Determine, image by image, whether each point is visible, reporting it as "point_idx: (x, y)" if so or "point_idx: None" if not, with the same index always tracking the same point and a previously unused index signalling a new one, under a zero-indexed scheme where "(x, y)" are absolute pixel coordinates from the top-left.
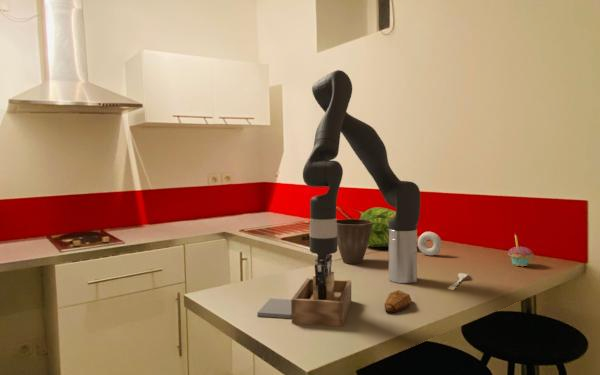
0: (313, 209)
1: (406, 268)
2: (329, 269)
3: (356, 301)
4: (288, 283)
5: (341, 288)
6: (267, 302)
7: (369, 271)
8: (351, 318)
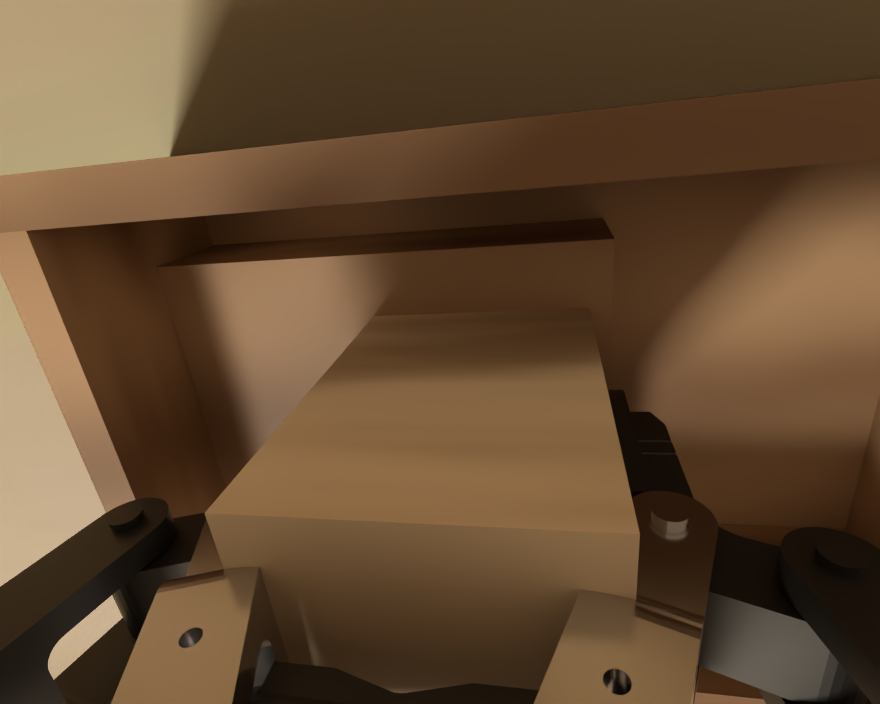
0: None
1: None
2: (252, 651)
3: (159, 99)
4: (56, 647)
5: (137, 285)
6: None
7: None
8: (702, 23)
